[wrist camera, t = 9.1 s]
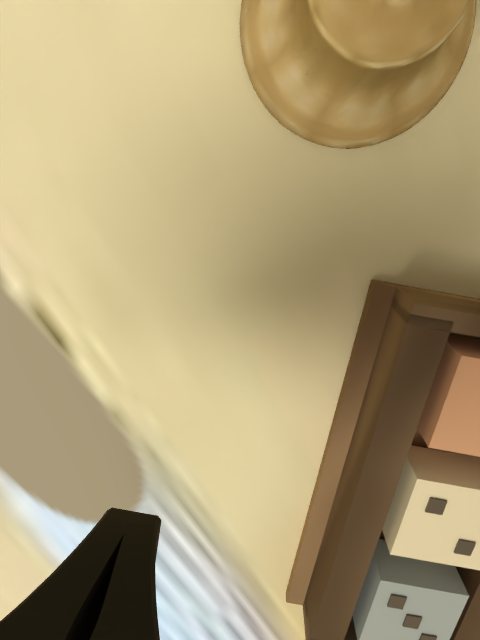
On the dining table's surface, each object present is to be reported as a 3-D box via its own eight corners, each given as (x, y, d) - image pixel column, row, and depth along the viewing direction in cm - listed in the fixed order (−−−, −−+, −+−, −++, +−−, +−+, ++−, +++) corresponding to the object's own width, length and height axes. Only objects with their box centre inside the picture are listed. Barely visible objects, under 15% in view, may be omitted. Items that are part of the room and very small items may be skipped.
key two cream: (486, 458, 21) (515, 497, 18) (457, 527, 22) (481, 572, 20) (400, 443, 21) (418, 480, 18) (376, 512, 22) (390, 556, 20)
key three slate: (448, 551, 23) (470, 597, 20) (424, 609, 24) (442, 660, 22) (368, 537, 23) (381, 582, 20) (348, 596, 24) (358, 645, 21)
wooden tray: (602, 321, 19) (659, 348, 17) (463, 624, 25) (488, 681, 22) (371, 279, 19) (389, 299, 17) (285, 592, 25) (288, 646, 22)
